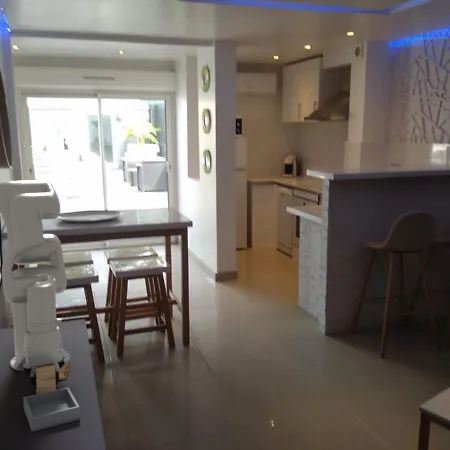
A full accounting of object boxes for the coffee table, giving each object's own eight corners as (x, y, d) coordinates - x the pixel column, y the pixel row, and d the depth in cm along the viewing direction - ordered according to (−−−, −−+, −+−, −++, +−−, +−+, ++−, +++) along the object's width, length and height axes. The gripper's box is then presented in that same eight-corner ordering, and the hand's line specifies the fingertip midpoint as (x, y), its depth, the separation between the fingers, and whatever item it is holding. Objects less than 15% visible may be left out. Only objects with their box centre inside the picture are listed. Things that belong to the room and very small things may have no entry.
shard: (70, 366, 162) (70, 361, 162) (84, 373, 157) (84, 367, 157) (39, 378, 154) (39, 372, 153) (53, 385, 149) (53, 379, 148)
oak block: (34, 387, 145) (33, 362, 143) (52, 384, 147) (51, 358, 146) (37, 395, 140) (36, 369, 139) (55, 391, 143) (54, 365, 142)
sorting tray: (23, 409, 134) (23, 397, 134) (68, 398, 140) (68, 387, 139) (31, 431, 124) (31, 418, 123) (80, 419, 130) (79, 406, 129)
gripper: (70, 316, 148) (71, 373, 151) (7, 326, 139) (11, 386, 143) (76, 324, 142) (78, 384, 145) (11, 335, 133) (15, 398, 136)
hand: (44, 384), depth 144 cm, fingers closed on oak block, 5 cm apart
